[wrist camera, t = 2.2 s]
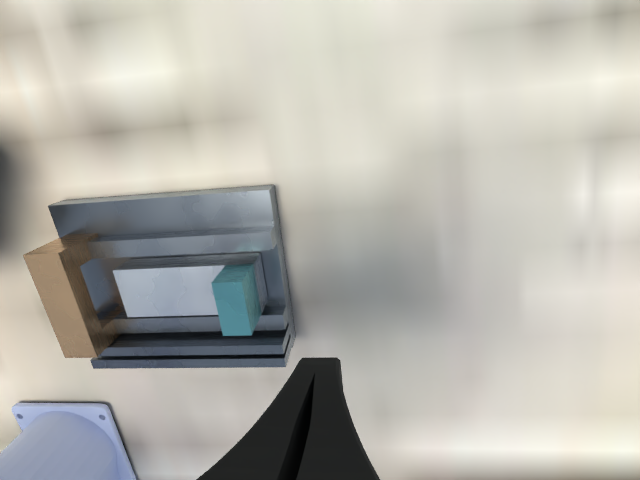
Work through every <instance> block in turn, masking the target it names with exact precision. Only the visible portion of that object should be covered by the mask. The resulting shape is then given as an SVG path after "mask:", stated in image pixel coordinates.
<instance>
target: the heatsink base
mask: <svg viewBox="0 0 640 480" xmlns="http://www.w3.org/2000/svg"><path fill="white" fill-rule="evenodd" d="M48 207H49V210H50V213H51V216H52V218H53V221H54V224H55V227H56V229H57V232H58V235H59V237H60V238H58V239H56V240H54V241H52V242H50V243H48V244H46V245H43V246H41V247H39V248H37V249H35V250H33V251H31V252H29V253H26V254H24V255H23V256H24V259H25V261H26V264H27V266H28V269H29V271H30V273H31V276H32V278H33V281H34V283H35V286H36V288H37V290H38V293H39V295H40V298H41V300H42V303H43V305H44V307H45V310H46V312H47V315H48V317H49V320H50V322H51V325H52V327H53V329H54V332H55V334H56V337H57V339H58V342H59V344H60V346H61V349H62V351H63V354H64V356H65V358H88V357H93V358H92V359H91V360H90V361H91V363H92V366H93V368H227V367H286V365H287V361H288V357H289V354H290V350H291V348H292V347H293V344H294V340H295V329H294V322H293V315H292V308H291V301H290V293H289V286H288V279H287V272H286V265H285V258H284V251H283V244H282V237H281V230H280V223H279V216H278V209H277V202H276V195H275V188H274V185H263V186H250V187H236V188H223V189H209V190H196V191H182V192H169V193H155V194H141V195H128V196H114V197H101V198H87V199H74V200H63V201H60V202H57V203H54V204H51V205H49V206H48ZM245 253H260V254H261V260H262V266H263V272H264V278H265V284H266V290H267V296H268V301H267V303H266V305H265V308H264V310H263V312H262V314H261V316H260V318H259V321H258V323H257V325H256V327H255V329H254V331H253V334H252V335H245V336H223V334H222V329H221V325H220V320H219V316H218V315H191V316H154V317H127V314H126V311H125V307H124V304H123V301H122V298H121V295H120V292H119V289H118V286H117V283H116V280H115V277H114V274H113V270H114V269H115V268H117V267H118V266H119V265H121V264H122V263H124V262H125V261H127V260H128V259H143V258H164V257H184V256H204V255H225V254H245Z"/></svg>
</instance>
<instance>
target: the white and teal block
mask: <svg viewBox="0 0 640 480" xmlns="http://www.w3.org/2000/svg"><path fill="white" fill-rule="evenodd" d="M113 274H114V277H115V280H116V283H117V286H118V289H119V292H120V295H121V298H122V301H123V304H124V307H125V311H126V314H127V317H154V316H191V315H218V316H219V320H220V325H221V329H222V334H223V336H245V335H252V334H253V331H254V329H255V327H256V325H257V323H258V321H259V318H260V316H261V314H262V312H263V310H264V308H265V305H266V303H267V301H268V296H267V290H266V284H265V278H264V272H263V266H262V260H261V254H260V253H245V254H225V255H204V256H184V257H164V258H143V259H128V260H127V261H125V262H124V263H122V264H121V265H119V266H118V267H117V268H115V269H114V270H113Z"/></svg>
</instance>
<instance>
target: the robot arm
mask: <svg viewBox="0 0 640 480" xmlns="http://www.w3.org/2000/svg"><path fill="white" fill-rule="evenodd" d="M12 412H13V414H14V416H15V418H16V420H17V422H18V424H19V426H20V428H21V430H22V432H21V433H20V434H19V435H18V436H17V437H16V438H15V439H14V440H13V441H12V442H11V443H10V444H9V445H8V446H7V447H6V448H5V449H4V450H3V451H2V452H1V453H0V480H136V477H135V475H134V472H133V470H132V467H131V464H130V462H129V459H128V457H127V454H126V451H125V449H124V446H123V443H122V441H121V438H120V436H119V433H118V430H117V428H116V425H115V423H114V420H113V417H112V415H111V412H110V410H109V407H108V406H107V405H105V404H102V403H17V404H15V405H14V406H13V407H12ZM197 480H380V479H379V477H378V475H377V473H376V471H375V470H374V468H373V466H372V464H371V462H370V460H369V458H368V456H367V454H366V452H365V450H364V448H363V446H362V443H361V441H360V439H359V437H358V434H357V432H356V429H355V427H354V424H353V421H352V419H351V416H350V413H349V410H348V407H347V404H346V400H345V396H344V393H343V384H342V374H341V364H340V360H339V359H338V358H302V359H301V360H300V361H299V363H298V365H297V366H296V368H295V370H294V371H293V373H292V374H291V376H290V378H289V379H288V381H287V382H286V384H285V385H284V387H283V388H282V389H281V391H280V392H279V394H278V395H277V396H276V398H275V399H274V401H273V402H272V403H271V405H270V406H269V407H268V408H267V410H266V411H265V412H264V413H263V415H262V416H261V417H260V418H259V420H258V421H257V422H256V423H255V424H254V426H253V427H252V428H251V429H250V430H249V431H248V432H247V433H246V434H245V436H244V437H243V438H242V439H241V440H240V441H239V442H238V443H237V444H236V445H235V446H234V447H233V448H232V449H231V450H230V451H229V452H228V453H227V454H226V455H225V456H223V457H222V458H221V459H220V460H219V461H218V462H217V463H216V464H215V465H214V466H212V467H211V468H210V469H209V470H208V471H206V472H205V473H204V474H203V475H202V476H200V477H199V478H198V479H197Z"/></svg>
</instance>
